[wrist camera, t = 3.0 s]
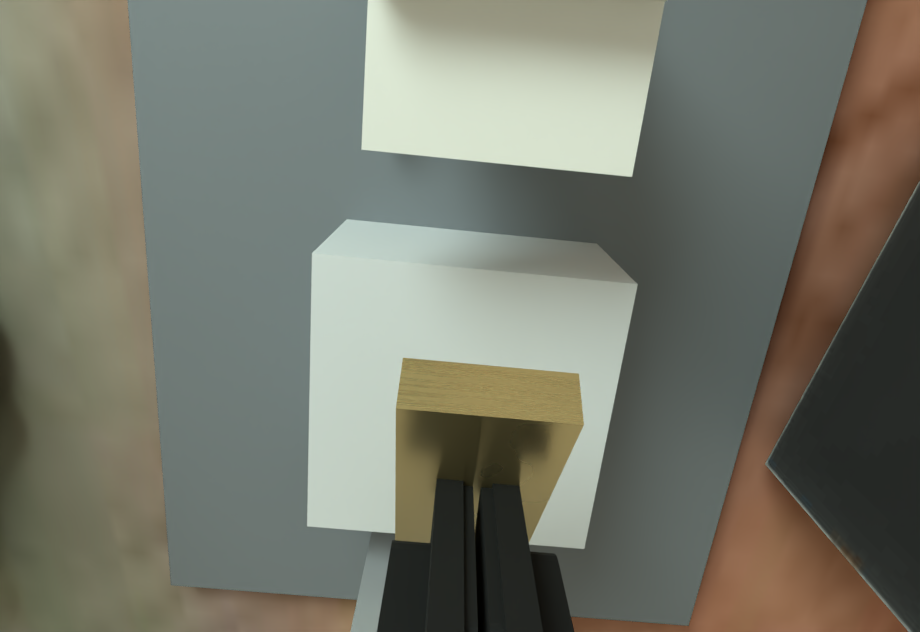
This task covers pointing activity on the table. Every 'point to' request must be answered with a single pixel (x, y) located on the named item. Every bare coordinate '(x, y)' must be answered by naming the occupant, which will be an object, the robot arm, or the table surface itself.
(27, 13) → the table surface
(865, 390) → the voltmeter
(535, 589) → the robot arm
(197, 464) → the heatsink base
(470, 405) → the wooden building block
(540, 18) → the block
